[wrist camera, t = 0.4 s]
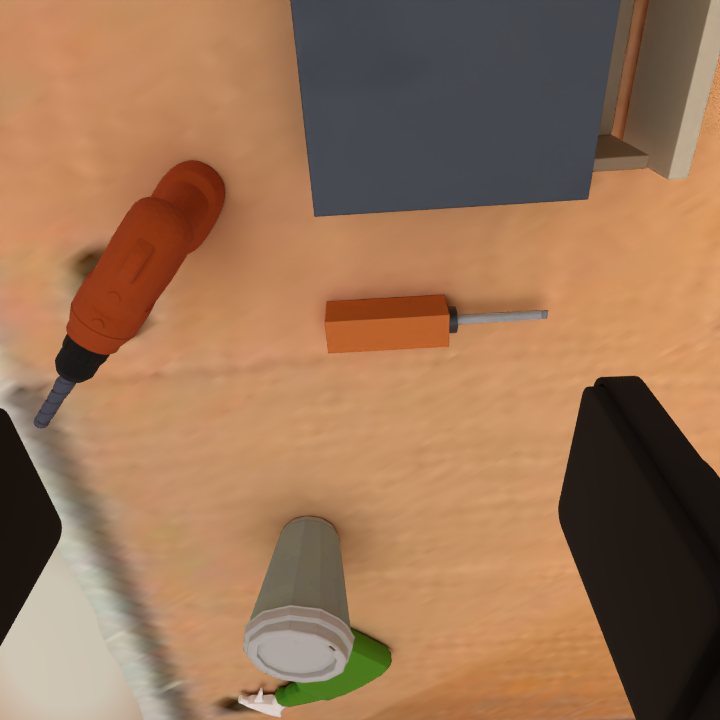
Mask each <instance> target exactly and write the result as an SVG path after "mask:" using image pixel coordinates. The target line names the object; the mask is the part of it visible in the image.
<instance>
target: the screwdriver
mask: <svg viewBox="0 0 720 720" xmlns="http://www.w3.org/2000/svg"><path fill="white" fill-rule="evenodd" d="M547 316H548V310H544V311H540V310H532V311H515V312H498V313H480V314H463V315H457V309H456V307H447V304H446V301H445V297H444V295H431V296H414V297H397V298H381V299H364V300H347V301H330V302H327V304H326V314H325V330H326V339H327V347H328V353H344V352H361V351H379V350H397V349H415V348H432V347H449V333H457V329H458V324H474V323H491V322H508V321H526V320H540V319H547Z"/></svg>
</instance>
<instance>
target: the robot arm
mask: <svg viewBox="0 0 720 720" xmlns="http://www.w3.org/2000/svg"><path fill="white" fill-rule="evenodd" d="M558 512H559V520H560V524H561V527H562V530H563V533H564V535H565V538H566V540H567V543H568V545H569V548H570V551H571V553H572V556H573V558H574V561H575V563H576V566H577V569H578V571H579V574H580V576H581V579H582V581H583V584H584V587H585V589H586V592H587V594H588V597H589V599H590V602H591V605H592V607H593V610H594V612H595V615H596V617H597V620H598V623H599V625H600V628H601V630H602V633H603V636H604V638H605V641H606V643H607V646H608V648H609V651H610V654H611V656H612V659H613V661H614V664H615V666H616V669H617V672H618V674H619V677H620V679H621V682H622V684H623V687H624V690H625V692H626V695H627V697H628V700H629V702H630V705H631V708H632V710H633V713H634V715H635V718H636V720H720V478H719V476H718V475H717V474H716V472H715V471H714V470H713V469H712V468H711V467H710V466H709V465H708V464H707V463H706V462H705V461H704V460H703V459H702V458H701V457H700V455H699V454H698V453H697V451H696V450H695V449H694V448H693V446H692V445H691V444H690V442H689V441H688V440H687V438H686V437H685V436H684V434H683V433H682V432H681V430H680V429H679V428H678V426H677V425H676V424H675V422H674V421H673V420H672V418H671V417H670V416H669V415H668V413H667V412H666V411H665V409H664V408H663V407H662V405H661V404H660V403H659V401H658V400H657V399H656V397H655V396H654V395H653V393H652V392H651V391H650V389H649V388H648V387H647V385H646V384H645V383H644V382H643V380H642V379H641V378H639V377H637V376H619V377H600V378H598V379H597V380H596V382H595V384H594V387H586V388H585V389H584V391H583V394H582V399H581V403H580V408H579V413H578V417H577V422H576V426H575V431H574V436H573V440H572V445H571V449H570V454H569V459H568V463H567V468H566V473H565V477H564V482H563V486H562V491H561V496H560V500H559V507H558ZM61 532H62V524H61V520H60V518H59V515H58V513H57V511H56V509H55V507H54V505H53V503H52V501H51V499H50V497H49V495H48V493H47V491H46V489H45V487H44V485H43V483H42V481H41V479H40V477H39V475H38V473H37V471H36V469H35V467H34V465H33V463H32V461H31V459H30V457H29V455H28V453H27V451H26V449H25V447H24V445H23V443H22V441H21V439H20V437H19V435H18V433H17V431H16V429H15V426H14V424H13V422H12V420H11V418H10V416H9V415H8V413H7V412H6V411H5V410H3V409H1V408H0V646H1V644H2V642H3V640H4V639H5V637H6V635H7V633H8V631H9V629H10V628H11V626H12V624H13V623H14V621H15V619H16V617H17V615H18V613H19V612H20V610H21V608H22V607H23V605H24V603H25V601H26V599H27V598H28V596H29V594H30V592H31V590H32V589H33V587H34V585H35V583H36V582H37V580H38V578H39V576H40V574H41V573H42V570H43V569H44V567H45V565H46V564H47V562H48V560H49V558H50V557H51V555H52V553H53V551H54V549H55V548H56V546H57V544H58V542H59V540H60V537H61Z"/></svg>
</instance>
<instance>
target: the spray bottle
mask: <svg viewBox="0 0 720 720" xmlns="http://www.w3.org/2000/svg"><path fill="white" fill-rule="evenodd" d="M350 629H351V632H352V634H353V635H354V637H355V638H354V641H353V647H352V651H351V654H350V657H349V661H348V663H346V665H345V668H344V671H343V672H342V673H341V674H339V675H337V676H335V677H333V678H331V679H329V680H327V681H318V682H308V683H301V682H294V683H291V684H289V685H288V686H287V687H280V688H279V689H278V690H276V693H275V695H273V694H271V695H263V688H260V690H259V692H258V695H250V696H248V697H247V696H244V695H240V696H239V698H238V702H239V703H241V704H244V705H245V706H247V707H249V708H252V709H255V710H257V711H260V712H263V713H265V714H268V715H272V716H276V717H281V716H282V710H283V708H285V707H291V706H296V705H301V704H306V703H311V702H315V701H319V700H331V699H334V698H336V697H339V696H342V695H345V694H347V693H349V692H351V691H354V690H356V689H358V688H360V687H362V686H364V685H365V684H367V683H369V682H370V681H372V680H374V679H376V678H377V677H379V676H381V675H382V674H383V673H384V672H385V671H386V670H387V669H388V668H389V667H390V665H391V662H392V660H391V652H390V651H389V649H388V648H387V647H386V646H385V645H383V644H381V643H379V642H377V641H375V640H373V639H371V638H369V637H367V636H365V635H363V634H361V633H360V632H358V631H356V630H354V629H352V628H350Z"/></svg>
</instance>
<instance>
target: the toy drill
mask: <svg viewBox="0 0 720 720" xmlns="http://www.w3.org/2000/svg"><path fill="white" fill-rule="evenodd" d="M224 196H225V189H224V184H223V182H222V179H221V178H220V176H219V175H218V174H217V172H216V171H214V170H213V169H212V168H211V167H209V166H208V165H206V164H204V163H201V162H199V161H186V162H183V163H180V164H178V165H176V166H175V167H173V168H172V169H170V171H169V172H168V173H167V174H166V175H165V176H164V177H163V178H162V180H161V181H160V183H159V184H158V186H157V187H156V189H155V190H154V192H153V194H152V196H151V197H146V198H142V199H140V200H139V201H137V202H135V203H134V205H133V206H132V208H131V209H130V210H129V211H128V213H127V214H126V216H125V218H124V219H123V221H122V222H121V224H120V226H119V227H118V229H117V230H116V232H115V234H114V235H113V237H112V239H111V240H110V242H109V244H108V246H107V248H106V250H105V252H104V253H103V255H102V257H101V259H100V260H99V262H98V264H97V266H96V267H95V268H94V270H93V271H92V272H90V273H89V274H88V275H87V276H86V278H85V279H84V281H83V283H82V285H81V287H80V288H79V290H78V292H77V294H76V296H75V297H74V299H73V301H72V303H71V310H70V318H69V322H68V324H67V326H66V329H67V335H66V337H65V339H64V341H63V345H62V346H63V347H62V348H61V350H60V352H59V353H58V355H57V357H56V359H55V364H56V371H57V372H58V374H59V375H60V376H59V378H57V379H56V381H55V384H54V386H53V389H52V390H51V392H50V393H49V395H48V397H47V399H46V400H45V402H44V403H43V405H42V407H41V409H40V410H39V412H38V414H37V416H36V417H35V419H34V425H35V426H36V427H37V428H45V427H47V426H48V425H49V423H50V420H51V419H52V418H53V417H54V415H55V414H56V412H57V410H58V409H59V407H60V405H61V404H62V402H63V400H64V399H65V398H66V397H67V395H68V394H69V393H70V392H71V390H72V389H73V387H74V386H75V384H76V383H81V382H84V381H86V380H88V379H90V378H92V377H93V376H94V374H95V373H96V371H97V370H98V368H99V366H100V365H101V364H103V363H104V362H105V361H106V360H107V358H108V357H109V355H110V354H113V353H115V352H117V350H118V349H119V348H120V346H122V345H123V344H125V343H126V342H127V341H129V340H130V339H131V338H133V337H134V336H135V335H136V333H137V332H138V330H139V329H140V327H141V326H142V324H143V323H144V321H145V320H146V319H147V317H148V316H149V314H150V312H151V310H152V308H153V306H154V304H155V302H156V300H157V299H158V298H159V296H160V295H161V294H162V292H163V291H164V290H165V288H166V287H167V286H168V284H169V283H170V282H171V280H172V279H173V277H174V275H175V274H176V272H177V271H178V269H179V267H180V266H181V264H182V263H183V261H184V259H185V258H186V256H187V254H189V253H191V252H192V251H194V250H196V249H197V248H198V247H199V246H200V245H201V244H202V242H203V241H204V240H205V239H206V237H207V236H208V234H209V233H210V231H211V229H212V228H213V226H214V224H215V223H216V221H217V219H218V217H219V215H220V212H221V210H222V207H223V203H224Z"/></svg>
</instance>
